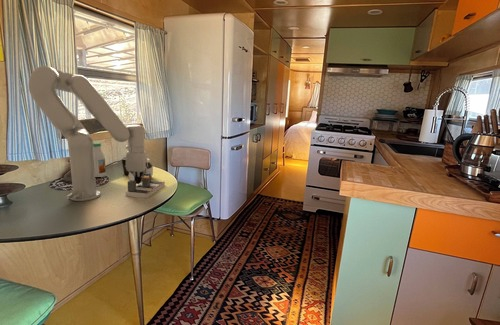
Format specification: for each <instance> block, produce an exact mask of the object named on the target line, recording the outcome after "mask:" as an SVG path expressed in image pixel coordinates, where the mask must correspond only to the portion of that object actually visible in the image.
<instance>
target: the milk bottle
mask: <svg viewBox="0 0 500 325" xmlns="http://www.w3.org/2000/svg"><path fill="white" fill-rule="evenodd" d="M93 147H94V166H95V177H101V178H105V177H106V176H107V169H106V157H105V154H104V152H103V150H102V144H101V142H93Z"/></svg>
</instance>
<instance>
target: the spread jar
mask: <svg viewBox="0 0 500 325" xmlns="http://www.w3.org/2000/svg"><path fill="white" fill-rule="evenodd" d="M147 161H148V169H147V171H148V173H151V178H152V177H153V175H154V172H153V171H154V169H153V168H154V167H153V164H152V163H151V162H150V158H148V157H147ZM142 178H143V175H142V176H141V181H142ZM128 179H129V181H130V180H133V181H135V180H134V176H133V174H132V173H130V172H129V175H128Z"/></svg>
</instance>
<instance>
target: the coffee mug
mask: <svg viewBox="0 0 500 325" xmlns="http://www.w3.org/2000/svg"><path fill="white" fill-rule="evenodd" d="M121 164H122V170H123V174H124V176H129V172H128V171H127V170H126V156H124V157H121Z"/></svg>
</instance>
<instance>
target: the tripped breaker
mask: <svg viewBox="0 0 500 325" xmlns="http://www.w3.org/2000/svg"><path fill="white" fill-rule="evenodd" d="M141 182H142V186H144V187H148V186H150V177H149V176H143V178H142V180H141Z"/></svg>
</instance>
